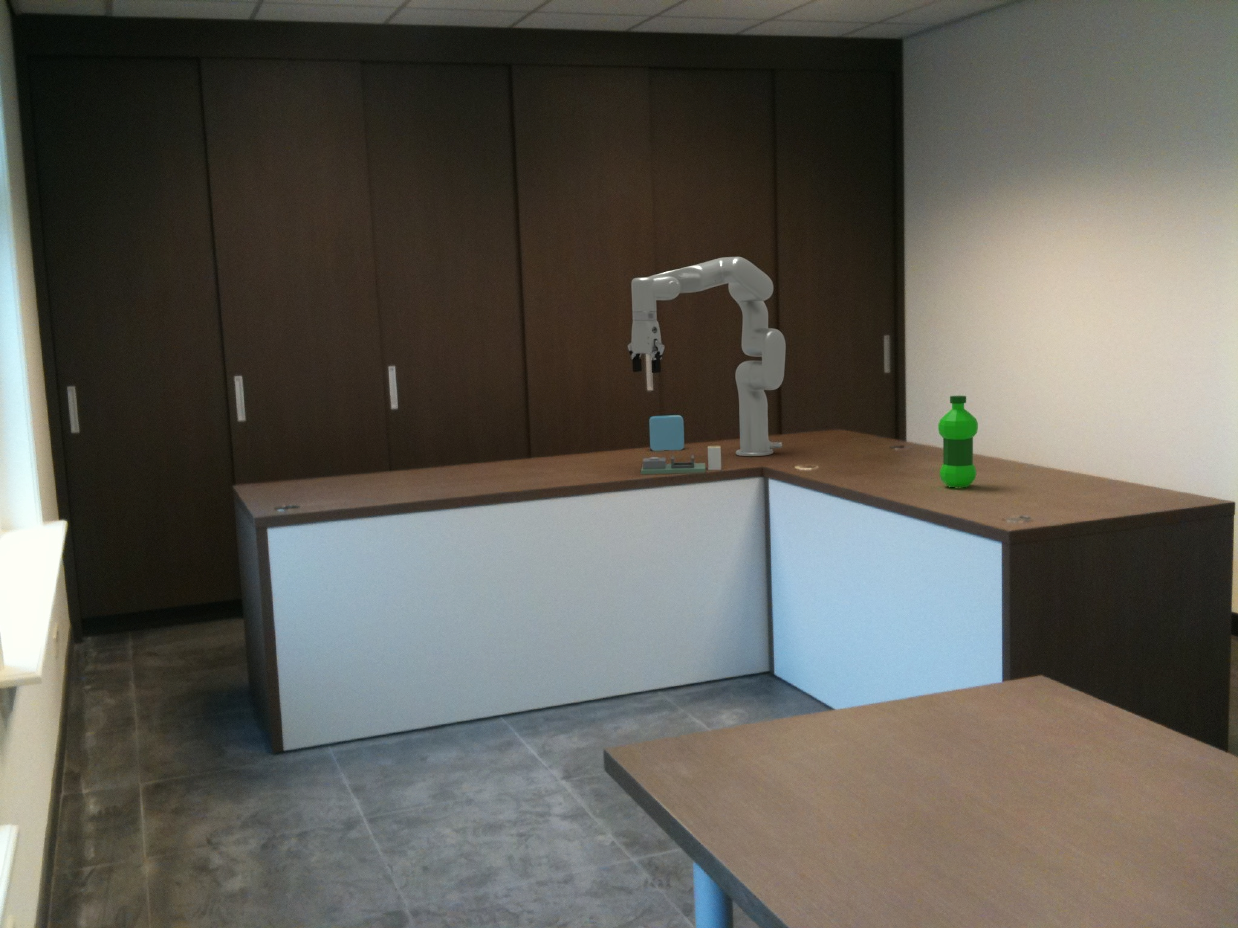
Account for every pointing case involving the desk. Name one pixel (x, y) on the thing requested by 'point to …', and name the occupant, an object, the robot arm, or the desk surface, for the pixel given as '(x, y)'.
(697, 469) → the board
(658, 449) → the blue rounded square block
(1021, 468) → the desk surface
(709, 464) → the plug
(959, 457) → the plastic bottle
